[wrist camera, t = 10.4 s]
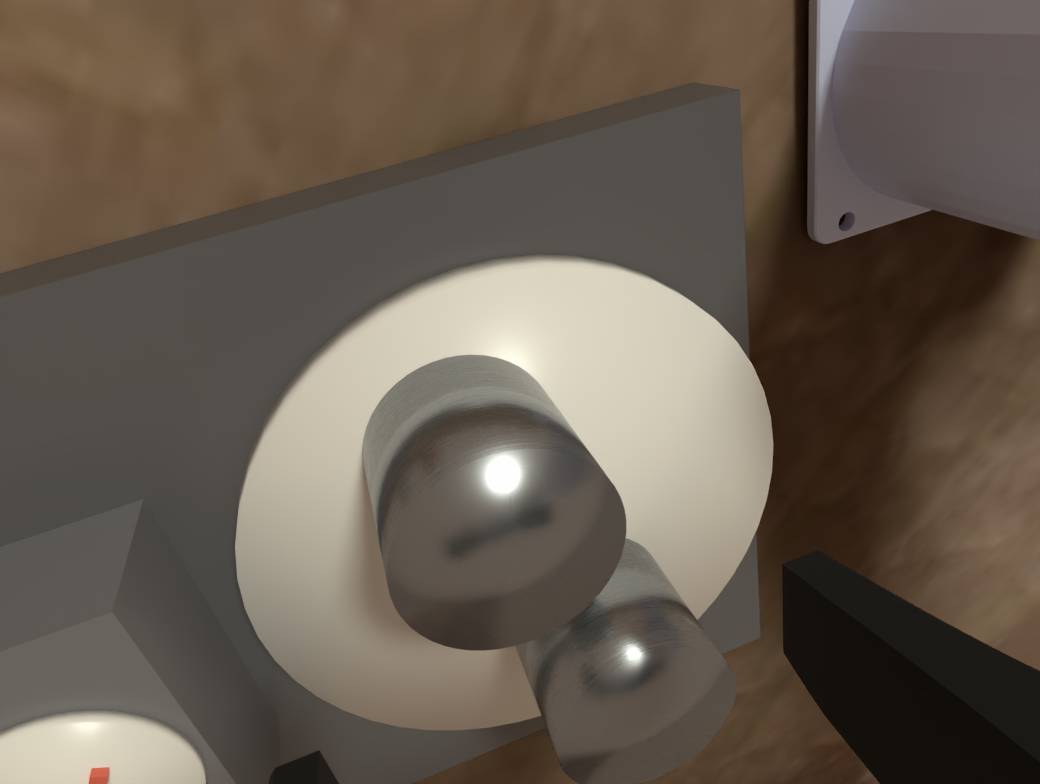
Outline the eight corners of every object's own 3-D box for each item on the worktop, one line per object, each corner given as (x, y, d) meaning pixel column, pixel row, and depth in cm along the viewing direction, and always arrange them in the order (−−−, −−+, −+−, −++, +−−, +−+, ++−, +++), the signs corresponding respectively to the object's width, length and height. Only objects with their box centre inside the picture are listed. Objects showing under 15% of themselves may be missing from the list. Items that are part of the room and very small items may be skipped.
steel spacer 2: (649, 512, 19) (731, 620, 16) (665, 625, 21) (739, 740, 18) (491, 572, 18) (540, 699, 15) (525, 682, 20) (575, 814, 17)
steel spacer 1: (528, 324, 15) (600, 410, 12) (573, 481, 18) (644, 590, 14) (329, 401, 15) (346, 514, 11) (403, 552, 17) (435, 684, 14)
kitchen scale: (693, 82, 17) (870, 109, 12) (729, 598, 26) (837, 736, 21) (-219, 334, 14) (-503, 513, 9) (183, 819, 23) (157, 1045, 18)
